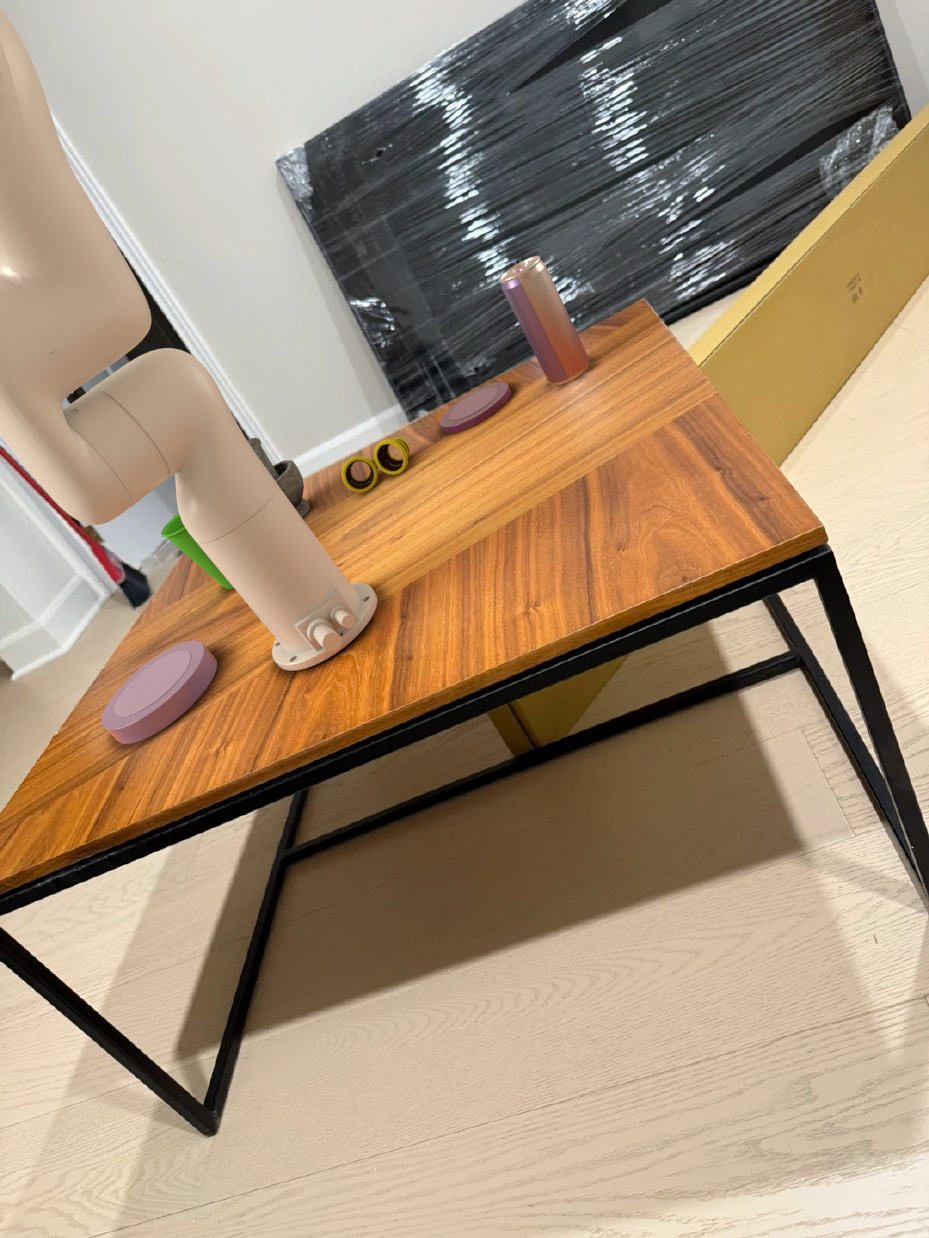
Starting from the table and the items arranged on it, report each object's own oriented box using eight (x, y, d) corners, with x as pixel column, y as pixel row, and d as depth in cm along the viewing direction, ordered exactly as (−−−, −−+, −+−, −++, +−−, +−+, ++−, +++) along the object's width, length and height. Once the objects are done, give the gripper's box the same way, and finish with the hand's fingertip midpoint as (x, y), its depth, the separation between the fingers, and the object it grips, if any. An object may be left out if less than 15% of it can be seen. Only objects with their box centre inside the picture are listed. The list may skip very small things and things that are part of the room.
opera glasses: (418, 459, 118) (400, 427, 116) (414, 466, 113) (395, 434, 111) (359, 490, 120) (341, 460, 118) (353, 500, 115) (334, 468, 113)
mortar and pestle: (316, 515, 118) (265, 445, 113) (261, 547, 120) (209, 479, 114) (321, 486, 128) (275, 420, 122) (270, 515, 130) (222, 451, 124)
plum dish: (525, 388, 115) (521, 381, 114) (466, 435, 112) (462, 429, 112) (486, 387, 124) (483, 381, 124) (430, 430, 122) (427, 424, 121)
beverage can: (548, 392, 109) (495, 286, 102) (551, 375, 114) (500, 272, 106) (590, 373, 106) (539, 263, 99) (592, 356, 111) (542, 250, 104)
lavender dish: (229, 676, 92) (215, 661, 90) (123, 762, 89) (107, 747, 87) (203, 641, 103) (191, 627, 102) (109, 716, 100) (95, 702, 99)
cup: (253, 586, 109) (200, 520, 104) (203, 607, 113) (149, 544, 108) (277, 548, 116) (228, 484, 111) (229, 568, 120) (179, 508, 115)
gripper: (-107, 360, 97) (3, 480, 105) (-1, 285, 92) (107, 417, 100) (-72, 342, 103) (30, 456, 111) (30, 270, 98) (129, 395, 106)
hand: (66, 437), depth 106 cm, fingers open, 9 cm apart
